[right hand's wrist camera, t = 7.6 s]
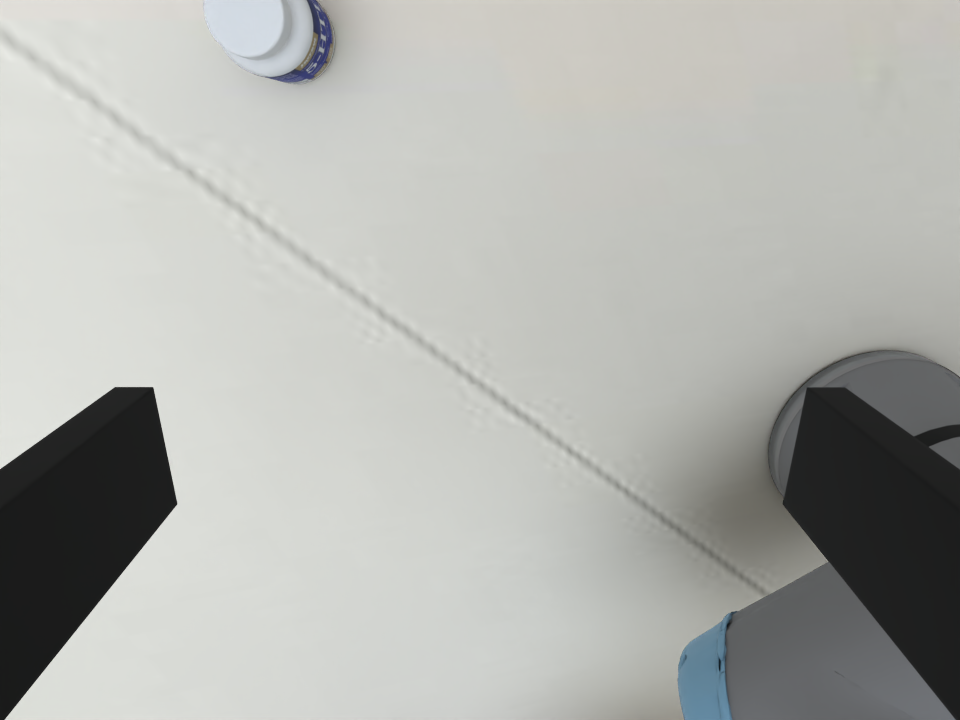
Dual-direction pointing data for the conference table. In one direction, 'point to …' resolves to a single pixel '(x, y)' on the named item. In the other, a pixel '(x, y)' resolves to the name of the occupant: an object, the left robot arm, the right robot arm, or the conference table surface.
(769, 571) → the conference table surface
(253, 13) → the pill bottle
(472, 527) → the conference table surface
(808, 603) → the right robot arm
